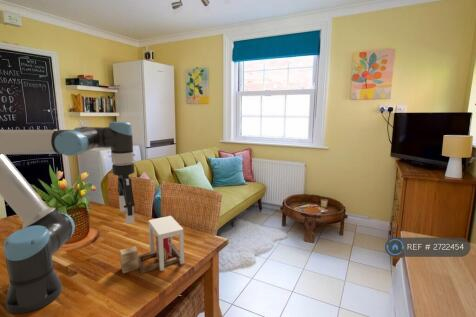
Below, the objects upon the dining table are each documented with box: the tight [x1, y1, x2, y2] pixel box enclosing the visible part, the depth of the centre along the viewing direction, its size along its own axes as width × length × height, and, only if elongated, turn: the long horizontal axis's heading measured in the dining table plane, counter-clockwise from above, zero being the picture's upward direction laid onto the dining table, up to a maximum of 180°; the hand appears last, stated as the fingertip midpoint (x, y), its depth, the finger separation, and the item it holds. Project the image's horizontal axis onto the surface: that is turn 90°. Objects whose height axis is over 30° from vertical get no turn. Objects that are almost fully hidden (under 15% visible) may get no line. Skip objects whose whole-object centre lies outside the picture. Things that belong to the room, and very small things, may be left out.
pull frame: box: [119, 243, 180, 274], centre depth 109 cm, size 23×11×8 cm, turn 123°
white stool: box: [148, 215, 185, 272], centre depth 112 cm, size 10×16×16 cm, turn 33°
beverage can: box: [155, 235, 173, 261], centre depth 112 cm, size 6×6×12 cm
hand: (126, 216), depth 102 cm, fingers open, 13 cm apart
